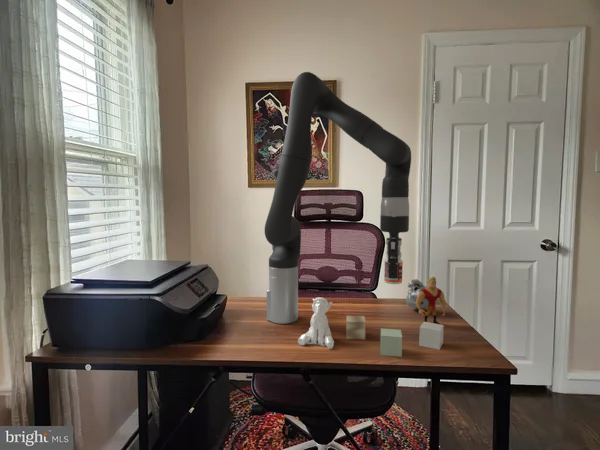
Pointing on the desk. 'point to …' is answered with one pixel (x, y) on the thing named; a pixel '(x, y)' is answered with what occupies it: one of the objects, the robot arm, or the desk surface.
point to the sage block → (391, 342)
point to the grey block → (431, 335)
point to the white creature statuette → (318, 326)
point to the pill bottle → (399, 271)
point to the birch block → (355, 327)
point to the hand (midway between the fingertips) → (393, 275)
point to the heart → (415, 294)
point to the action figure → (431, 299)
